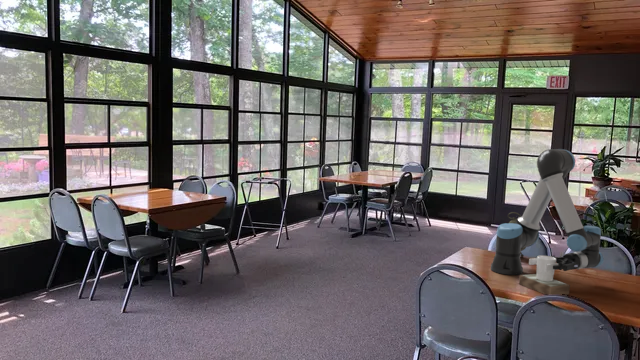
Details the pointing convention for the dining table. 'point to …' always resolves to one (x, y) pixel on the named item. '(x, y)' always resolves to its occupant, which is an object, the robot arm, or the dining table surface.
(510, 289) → the dining table surface
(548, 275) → the white cup
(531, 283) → the board
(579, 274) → the dining table surface
